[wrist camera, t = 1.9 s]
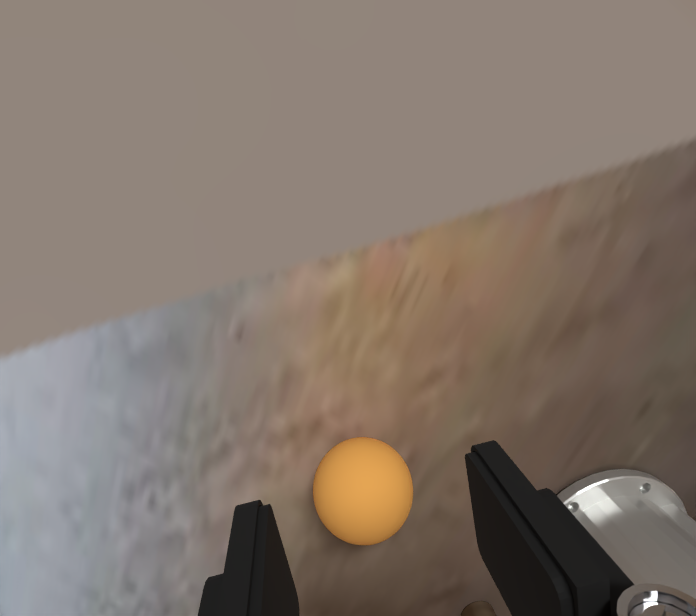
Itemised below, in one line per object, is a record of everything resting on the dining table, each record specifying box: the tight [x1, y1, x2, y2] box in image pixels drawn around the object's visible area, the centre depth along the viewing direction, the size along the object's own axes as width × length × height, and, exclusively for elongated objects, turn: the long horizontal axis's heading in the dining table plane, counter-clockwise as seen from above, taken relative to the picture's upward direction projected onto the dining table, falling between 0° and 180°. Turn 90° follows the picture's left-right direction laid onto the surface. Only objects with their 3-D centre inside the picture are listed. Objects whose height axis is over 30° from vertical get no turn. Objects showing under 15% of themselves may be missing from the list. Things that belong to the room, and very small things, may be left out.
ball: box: [313, 437, 413, 545], centre depth 27 cm, size 6×6×6 cm
